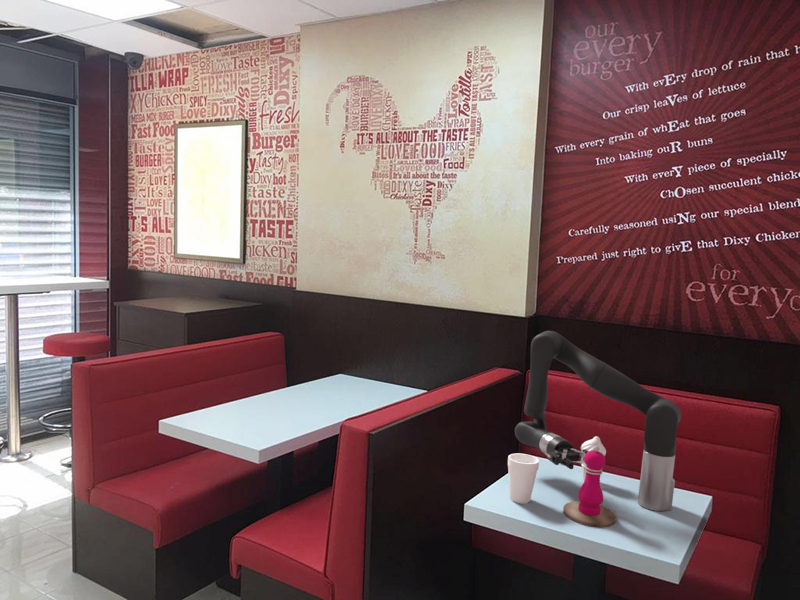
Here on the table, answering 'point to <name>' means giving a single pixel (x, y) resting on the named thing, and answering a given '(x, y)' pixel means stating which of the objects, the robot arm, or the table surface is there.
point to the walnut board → (600, 520)
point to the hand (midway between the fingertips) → (584, 465)
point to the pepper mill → (592, 483)
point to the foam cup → (521, 476)
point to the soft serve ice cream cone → (589, 447)
